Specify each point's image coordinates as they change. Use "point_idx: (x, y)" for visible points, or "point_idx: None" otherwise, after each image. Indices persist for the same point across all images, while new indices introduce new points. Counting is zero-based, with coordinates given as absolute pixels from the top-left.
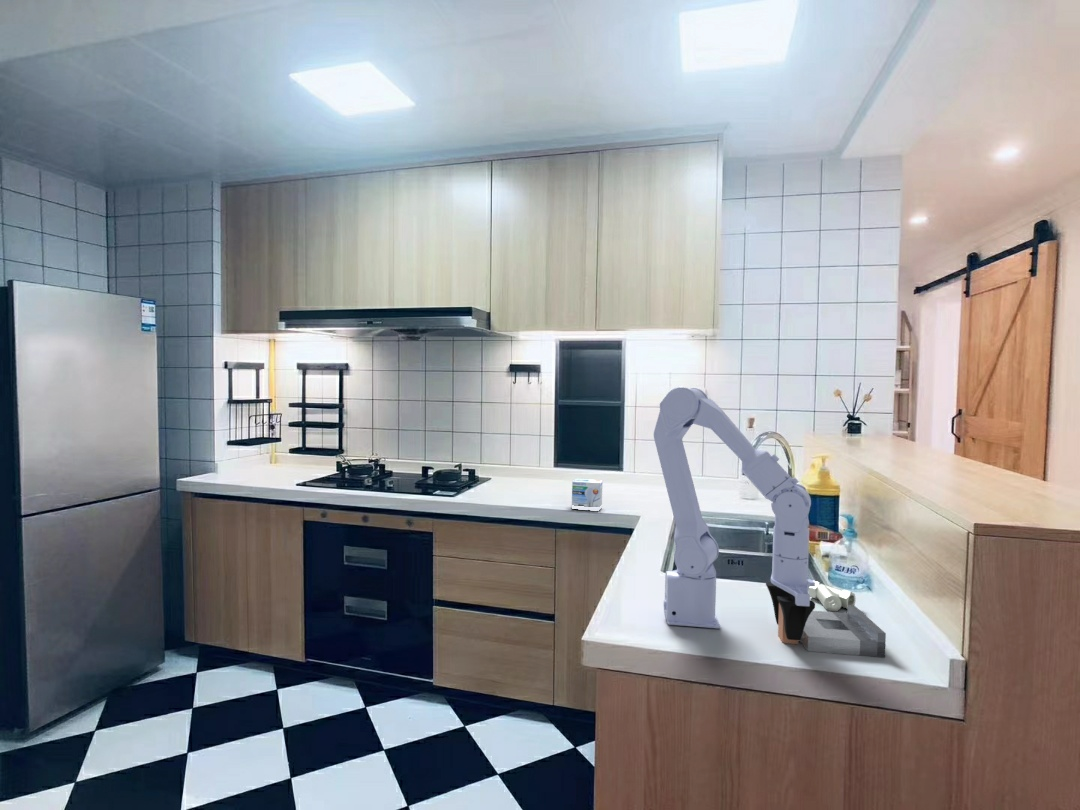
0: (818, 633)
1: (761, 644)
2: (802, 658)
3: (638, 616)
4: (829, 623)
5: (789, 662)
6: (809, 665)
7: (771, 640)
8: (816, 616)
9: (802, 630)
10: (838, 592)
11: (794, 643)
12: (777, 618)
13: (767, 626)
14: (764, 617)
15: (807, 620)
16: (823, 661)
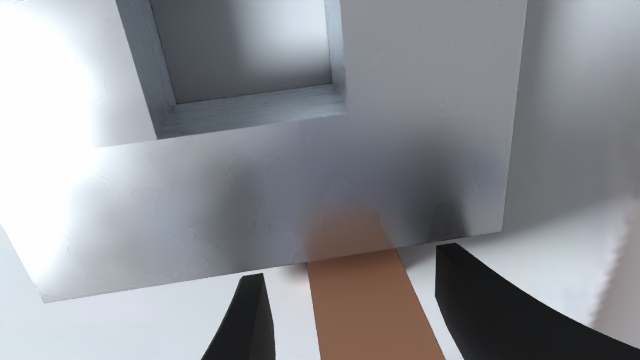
0: (450, 168)
1: None
2: (540, 218)
3: None
4: (134, 21)
5: (578, 268)
6: (606, 200)
7: None
8: (96, 124)
9: (493, 273)
10: None
11: None
12: (273, 355)
13: (201, 325)
14: (71, 334)
15: (226, 202)
16: (567, 133)
